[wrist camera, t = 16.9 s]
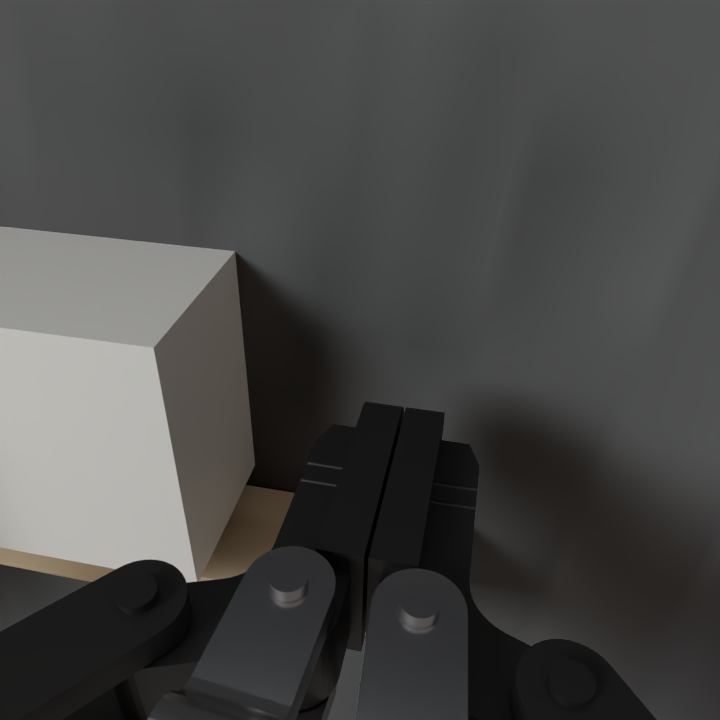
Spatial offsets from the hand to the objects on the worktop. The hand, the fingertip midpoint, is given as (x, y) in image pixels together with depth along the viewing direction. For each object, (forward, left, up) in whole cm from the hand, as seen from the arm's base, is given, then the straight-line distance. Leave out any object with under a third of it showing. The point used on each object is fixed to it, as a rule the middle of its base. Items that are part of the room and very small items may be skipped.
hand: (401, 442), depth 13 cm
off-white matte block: (-8, -1, -3) cm, 8 cm away
